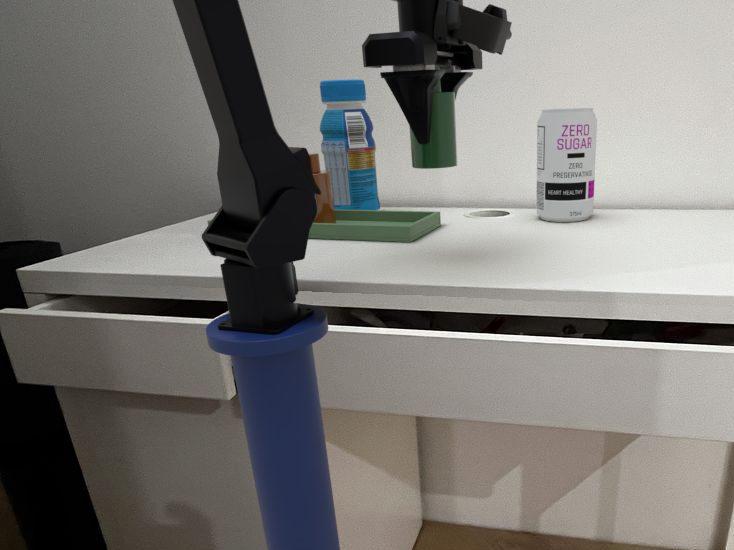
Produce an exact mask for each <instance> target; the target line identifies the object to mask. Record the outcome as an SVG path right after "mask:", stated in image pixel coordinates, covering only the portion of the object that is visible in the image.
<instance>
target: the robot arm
mask: <svg viewBox="0 0 734 550" xmlns="http://www.w3.org/2000/svg"><path fill="white" fill-rule="evenodd" d="M391 1H393V2H395V3H397V4H396V5H397V17H398V31H393V32H392V31H391V32H379V33H378V32H377V33H369V34H368V36H367V37H366V38H365V40H364V41H363V43H362V44H361V51H362V52H361V53H362V62H363V63H362V65H363V68H369V69H370V68H371V69H381V68H382V67H392V71H381V72H379V74H380V75H379V76H380V78H381V79H384V81H385V83H386V85H387V86H388V88H389V90H390V92H391V94H392V95H393V97H394V98H395V100H396V102H397V104H398V106H399V108H400V110H401V111H402V113H403V115H404V117H405V120H406V121H407V123H408V126H409V128H410V127H411V129H412V131H413V133H414V135H415V137H416V139H417V141H418V143H419V144H428V143H429V140H430V131H431V115H432V99H433V89H434V87H435V85H436V84H437V83H438V81H439V80H440V79H441V92H455V101H456V99H457V95H458V92H459V89H460V88H461V87H462V86H463V85H464V83H465V82H466V81H468V79H470V78H471V77H472V76H473V75H474V72H473V71H475V70H476V71H477V70H479V71H480V70H483V52H487V53H490V54H498V55H499V56H502V55H503V53H504V49H505V46H506V43H507V41H508V40H510V39H511V38H512V37H513V36H512V35H513V34H512V31H511V27H512V24H513V22H511V21H509V20H508V13H507V9H505V8H503V7H499V6H497V5H494V4H491V3H489V4H488V5H487V6H486V7H485V8H484V9H483V10H481V11H480V10H477V9H475V8H472V7H469V6H466V5H464V0H391ZM172 3H173V7H174V8H175V12H176V15H177V18H178V21H179V24H180V27H181V29H182V33H183V36H184V40H185V41H186V45H187V48H188V51H189V54H190V57H191V60H192V62H193V66H194V69H195V72H196V75H197V77H198V80H199V84H200V86H201V89H202V92H203V95H204V98H205V102H206V104H207V107H208V109H209V113H210V116H211V119H212V122H213V126H214V128H215V131H216V133H217V137H218V143H219V144H218V146H219V147H218V157H217V170H216V176H217V177H216V178H217V183H218V187H219V194H220V199H221V206H220V207H219V209H218V210H217V212H216V213H215V215H214V216H213V218H212V221H211V222H210V224H209V225H208V224H207V226H206V227H205V229H204V231H203V232H202V234H201V239H202V242H203V243H204V245H205V247H206V248H207V250H208V252H209V253H210V255H211V256H213V257H219V258H222V259H224V260H223V263H221V264H220V265H219V267H220V271H221V276H222V283H223V287H224V292H225V298H226V303H227V309H228V313H229V314H230V318H229V319H227V320H225V321H223V322H221V323H219V324H218V325H217V326H218V330H224V331H235V332H246V333H256V334H267V335H278V334H281V333H282V332H284V331H286V330H287V329H289V328H291V327H292V326H294V325H296V324H297V323H299V322H301V321H302V320H304V319H306V318H307V317H309V316H311V315H312V314H314V309H313V308H305V307H299V305H300V304H301V303H300V302H296V301H297V295H298V293H299V286H298V279H297V271H296V266H295V265H294V262H298V261H302V260H304V259H305V257H306V254H307V253H306V252H307V247H308V241H309V238H308V237H309V231H310V228H311V226H312V224H313V221H314V219H315V218H316V217H317V212H318V207H317V200H316V196H315V194H318V195H320V194H321V191H320V189H319V188H318V186H317V185H316V183H315V180H314V178H313V174H312V168H311V160H310V156H309V153H310V152H309V150H308V149H307V148H306V147H300V146H299V147H296V146H288V144H287V143H286V142H285V140H284V139H283V138H282V136H281V135H280V133H279V132H278V130H277V128H276V125H275V121H274V118H273V115H272V112H271V111H272V110H271V108H270V104H269V101H268V98H267V93H266V90H265V87H264V84H263V81H262V77H261V74H260V71H259V67H258V66H259V65H258V63H257V60H256V56H255V53H254V50H253V46H252V43H251V40H250V35H249V32H248V29H247V26H246V22H245V19H244V15H243V11H242V8H241V4H240V1H239V0H172ZM435 66H439V67H440V70H435Z"/></svg>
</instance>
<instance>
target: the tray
mask: <svg viewBox="0 0 734 550" xmlns="http://www.w3.org/2000/svg"><path fill="white" fill-rule="evenodd" d="M335 214H336V223H337V224H334V223H313V224H312V226H311V228H310V231H309V237H308V239H317V240H318V239H320V240H342V241H343V240H346V241H347V240H348V241H370V242H371V241H373V242H374V241H375V242H397V243H399V242H401V243H412V242H413V241H415V240H417V239H419V238H421V237H423V236H424V235H426V234H428V233H430V232H432V231H434V230H435V229H437V228H439V227H441V226H442V222H441V220H442V219H441V211H431V210H429V211H427V210H388V209H387V210H386V209H385V210H384V209H383V210H382V209H380V210H341V209H335ZM212 219H213V218H212ZM212 219H208V220H207V222H206V223H207V226H208V225H209V224H210V222H211V221H212Z"/></svg>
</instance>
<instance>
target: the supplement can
mask: <svg viewBox="0 0 734 550" xmlns="http://www.w3.org/2000/svg"><path fill="white" fill-rule="evenodd" d="M536 127H537V129H536V130H537V132H536V157H537V158H536V214H537V216H539V218H540V220H543V221H546V222H551V223H552V222H554V223H573V222H574V223H575V222H581V221H582V222H583V221H585V220H588V219H589V218H590V216H591V215H592V214H593V213H594V201H595V198H594V197H595V181H596V180H595V179H596V178H595V177H596V176H595V175H596V157H597V155H596V154H597V153H596V152H597V132H598V131H597V130H598V119H597V117H596V114H595V112H594V108H593V107H586V108H585V107H582V108H581V107H579V108H575V107H573V108H552V109H551V108H550V109H549V108H548V109H541V114H539V117H538V119H537V122H536Z"/></svg>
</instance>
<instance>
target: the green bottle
mask: <svg viewBox="0 0 734 550" xmlns="http://www.w3.org/2000/svg"><path fill="white" fill-rule="evenodd" d="M435 70H440V67H439V66H435ZM456 120H457V119H456V100H455V92H441V79H440V80H439V81H438V83H437V84H436V85H435V87H434V89H433V99H432V115H431V131H430V140H429V143H428V144H419V143H418V141H417V139H416V137H415V135H414V133H413V131H412V129H411V127H410V126H409V136H410V137H409V140H410V153H411V167H412V168H413V169H419V170H421V169H423V170H424V169H426V170H427V169H428V170H429V169H430V170H431V169H445V168H446V169H447V168H455V167H457V166H458V147H457V146H458V145H457V144H458V143H457V121H456Z"/></svg>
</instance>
